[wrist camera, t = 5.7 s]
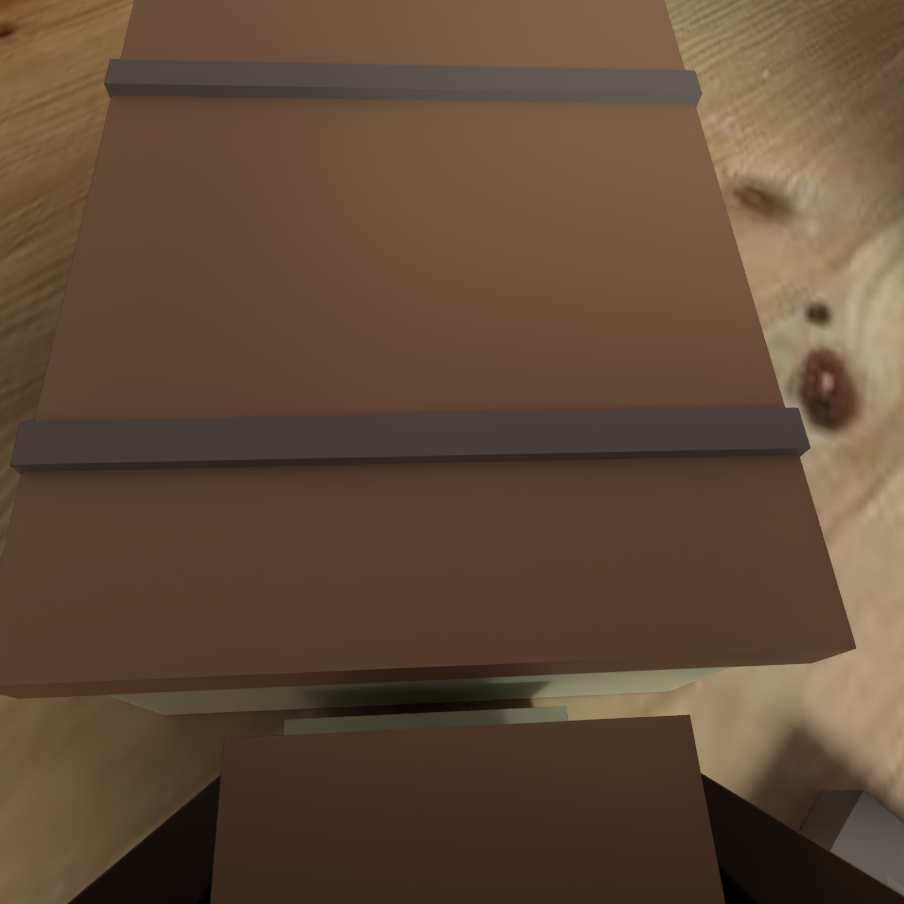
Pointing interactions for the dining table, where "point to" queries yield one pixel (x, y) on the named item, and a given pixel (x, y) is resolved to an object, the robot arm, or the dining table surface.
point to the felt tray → (859, 834)
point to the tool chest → (406, 379)
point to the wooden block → (468, 816)
